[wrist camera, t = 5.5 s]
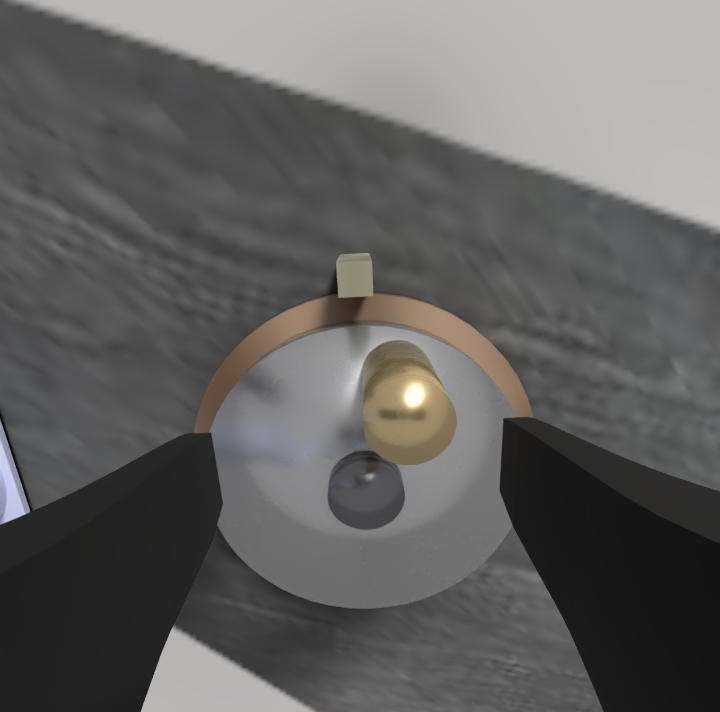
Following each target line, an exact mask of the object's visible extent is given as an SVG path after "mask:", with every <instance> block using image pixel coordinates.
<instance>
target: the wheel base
mask: <svg viewBox="0 0 720 712" xmlns="http://www.w3.org/2000/svg"><path fill="white" fill-rule="evenodd" d="M336 268H337V284H338V293H337V294H331V295H327V296H323V297H319V298H315V299H311V300H308V301H305V302H303V303H300V304H298V305H295V306H293V307H290V308H288V309H286V310H284V311H282V312H281V313H279V314H277V315H275V316H274V317H272V318H270V319H268V320H267V321H266V322H264V323H263V324H262V325H260V326H259V327H258V328H256V329H255V330H254V331H252V332H251V333H250V334H249V335H248V336H247V337H246V338H245V339H244V340H243V341H242V342H241V343H240V344H239V345H238V346H237V347H236V348H235V349H234V350H233V351H232V352H231V353H230V354H229V355H228V356H227V358H226V359H225V360H224V362H223V363H222V364H221V366H220V367H219V369H218V370H217V371H216V373H215V374H214V376H213V378H212V380H211V382H210V384H209V386H208V387H207V389H206V391H205V393H204V396H203V399H202V402H201V405H200V407H199V410H198V414H197V419H196V424H195V429H194V433H209V431H210V429H211V426H212V424H213V421H214V419H215V416H216V414H217V412H218V410H219V408H220V407H221V405H222V403H223V402H224V400H225V398H226V396H227V395H228V394H229V392H230V391H231V390H232V388H233V387H234V386H235V385H236V383H237V382H238V381H239V380H240V378H241V377H242V376H243V374H244V373H245V372H246V371H247V370H248V369H249V368H250V367H251V366H252V365H253V364H254V363H255V362H256V361H257V360H258V359H259V358H260V357H261V356H263V355H264V354H265V353H267V352H268V351H270V350H271V349H273V348H274V347H275V346H277V345H278V344H280V343H282V342H284V341H286V340H287V339H289V338H291V337H293V336H295V335H297V334H299V333H302V332H305V331H308V330H310V329H313V328H316V327H319V326H324V325H328V324H333V323H337V322H344V321H355V320H376V321H388V322H394V323H400V324H406V325H409V326H412V327H415V328H419V329H422V330H425V331H428V332H430V333H432V334H434V335H436V336H438V337H441V338H443V339H445V340H447V341H448V342H450V343H451V344H453V345H455V346H456V347H458V348H459V349H461V350H462V351H464V352H465V353H466V354H467V355H468V356H470V357H471V358H472V359H473V360H474V361H476V362H477V363H478V364H479V365H480V366H481V367H482V369H483V370H484V371H485V372H486V373H487V374H488V375H489V377H490V378H491V379H492V380H493V381H494V382H495V383H496V384H497V386H498V387H499V388H500V389H501V391H502V392H503V394H504V395H505V397H506V398H507V400H508V401H509V403H510V405H511V406H512V408H513V411H514V413H515V415H516V417H531V418H533V414H532V411H531V408H530V404H529V401H528V398H527V395H526V393H525V391H524V389H523V387H522V385H521V383H520V380H519V378H518V377H517V375H516V374H515V372H514V371H513V369H512V368H511V366H510V365H509V363H508V362H507V360H506V359H505V358H504V357H503V356H502V355H501V353H500V352H499V351H498V350H497V349H496V348H495V347H494V346H493V345H492V343H491V342H489V341H488V340H487V339H486V338H485V337H484V336H482V335H481V334H480V333H479V332H478V331H476V330H475V329H474V328H473V327H472V326H470V325H469V324H468V323H467V322H465V321H463V320H462V319H460V318H458V317H457V316H455V315H454V314H452V313H450V312H449V311H447V310H444V309H442V308H440V307H438V306H435V305H433V304H431V303H429V302H426V301H423V300H419V299H416V298H412V297H409V296H405V295H400V294H393V293H386V292H373V276H372V260H371V257H370V255H369V253H358V254H340V256H339V258H338V260H337V262H336ZM217 526H218V525H217Z"/></svg>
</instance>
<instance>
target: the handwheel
mask: <svg viewBox="0 0 720 712" xmlns="http://www.w3.org/2000/svg"><path fill="white" fill-rule="evenodd" d="M514 417H516V415H515V413H514V411H513V408H512V406H511V405H510V403H509V401H508V400H507V398H506V397H505V395H504V394H503V392H502V391H501V389H500V388H499V387H498V386H497V384H496V383H495V382H494V381H493V380H492V379H491V378H490V377H489V375H488V374H487V373H486V372H485V371H484V370H483V369H482V367H481V366H480V365H479V364H478V363H477V362H476V361H474V360H473V359H472V358H471V357H470V356H468V355H467V354H466V353H465V352H464V351H462V350H461V349H459V348H458V347H456V346H455V345H453V344H451V343H450V342H448V341H447V340H445V339H443V338H441V337H438V336H436V335H434V334H432V333H430V332H428V331H425V330H422V329H419V328H415V327H412V326H409V325H406V324H400V323H394V322H388V321H376V320H355V321H344V322H337V323H333V324H328V325H324V326H319V327H316V328H313V329H310V330H308V331H305V332H302V333H299V334H297V335H295V336H293V337H291V338H289V339H287V340H286V341H284V342H282V343H280V344H278V345H277V346H275V347H274V348H273V349H271V350H270V351H268V352H267V353H265V354H264V355H263V356H261V357H260V358H259V359H258V360H257V361H256V362H255V363H254V364H253V365H252V366H251V367H250V368H249V369H248V370H247V371H246V372H245V373H244V374H243V376H242V377H241V378H240V380H239V381H238V382H237V383H236V385H235V386H234V387H233V388H232V390H231V391H230V392H229V394H228V395H227V396H226V398H225V400H224V402H223V403H222V405H221V407H220V408H219V410H218V412H217V414H216V416H215V419H214V421H213V424H212V426H211V429H210V431H209V433H210V432H211V434H212V440H213V446H214V452H215V458H216V464H217V470H218V476H219V482H220V488H221V494H222V500H223V506H222V509H221V513H220V517H219V520H218V524H217V525H218V527H219V529H220V531H221V533H222V534H223V536H224V538H225V539H226V541H227V542H228V543H229V545H230V546H231V547H232V549H233V550H234V551H235V553H236V554H237V555H238V556H239V557H240V558H241V559H242V560H243V561H244V562H245V563H246V564H247V565H248V566H249V567H250V568H252V569H253V570H254V571H255V572H257V573H258V574H259V575H260V576H262V577H263V578H264V579H266V580H268V581H269V582H271V583H272V584H274V585H276V586H277V587H279V588H281V589H283V590H285V591H287V592H289V593H291V594H293V595H296V596H299V597H301V598H304V599H307V600H310V601H313V602H317V603H321V604H325V605H330V606H336V607H344V608H360V609H372V608H385V607H392V606H397V605H403V604H408V603H411V602H414V601H418V600H421V599H425V598H427V597H430V596H432V595H434V594H437V593H439V592H442V591H444V590H445V589H447V588H449V587H451V586H453V585H455V584H456V583H458V582H460V581H461V580H462V579H464V578H465V577H467V576H468V575H470V574H471V573H472V572H474V571H475V570H476V569H477V568H478V567H479V566H481V565H482V564H483V563H484V562H485V561H486V560H487V559H488V558H489V557H490V556H491V555H492V553H493V552H494V551H495V550H496V549H497V548H498V547H499V545H500V544H501V542H502V541H503V539H504V538H505V537H506V535H507V534H508V532H509V531H510V529H511V526H512V522H511V520H510V517H509V515H508V512H507V510H506V507H505V504H504V502H503V499H502V496H501V493H500V491H499V488H500V470H501V452H502V434H503V418H514Z"/></svg>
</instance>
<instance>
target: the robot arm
mask: <svg viewBox="0 0 720 712" xmlns="http://www.w3.org/2000/svg"><path fill="white" fill-rule="evenodd" d="M499 491H500V493H501V496H502V499H503V502H504V504H505V507H506V510H507V512H508V515H509V517H510V520H511V522H512V525H513V527H514V529H515V531H516V533H517V535H518V537H519V538H520V540H521V542H522V544H523V546H524V548H525V550H526V551H527V553H528V555H529V557H530V559H531V561H532V562H533V564H534V566H535V568H536V570H537V571H538V573H539V575H540V577H541V579H542V580H543V582H544V584H545V586H546V588H547V590H548V591H549V593H550V595H551V597H552V599H553V600H554V602H555V604H556V606H557V608H558V609H559V611H560V613H561V615H562V617H563V619H564V621H565V623H566V625H567V627H568V629H569V631H570V633H571V635H572V638H573V640H574V642H575V645H576V647H577V649H578V652H579V654H580V656H581V659H582V661H583V663H584V665H585V668H586V670H587V672H588V675H589V677H590V679H591V682H592V684H593V686H594V689H595V691H596V694H597V696H598V699H599V701H600V704H601V706H602V709H603V711H604V712H720V491H716V490H713V489H710V488H707V487H703V486H700V485H697V484H694V483H691V482H688V481H685V480H682V479H679V478H676V477H673V476H670V475H667V474H665V473H662V472H659V471H656V470H654V469H651V468H648V467H646V466H643V465H641V464H638V463H636V462H633V461H631V460H628V459H626V458H623V457H621V456H619V455H616V454H614V453H612V452H609V451H607V450H605V449H602V448H600V447H598V446H596V445H593V444H591V443H589V442H587V441H585V440H582V439H580V438H578V437H576V436H574V435H571V434H569V433H567V432H565V431H563V430H561V429H558V428H556V427H554V426H552V425H549V424H547V423H545V422H542V421H540V420H537V419H534V418H531V417H514V418H503V434H502V452H501V470H500V488H499ZM222 506H223V500H222V494H221V488H220V482H219V476H218V470H217V464H216V458H215V452H214V446H213V440H212V434H211V432H210V433H190V434H184V435H182V436H179V437H177V438H175V439H173V440H171V441H169V442H167V443H165V444H163V445H161V446H159V447H158V448H156V449H154V450H152V451H150V452H148V453H147V454H145V455H143V456H141V457H139V458H138V459H136V460H134V461H132V462H130V463H129V464H127V465H125V466H123V467H121V468H119V469H118V470H116V471H114V472H112V473H110V474H108V475H106V476H104V477H102V478H100V479H98V480H97V481H95V482H93V483H91V484H89V485H87V486H85V487H83V488H81V489H79V490H77V491H75V492H73V493H71V494H69V495H67V496H65V497H63V498H61V499H59V500H57V501H54V502H52V503H50V504H48V505H46V506H43V507H41V508H39V509H36V510H34V511H32V512H30V509H29V506H28V503H27V500H26V497H25V494H24V491H23V488H22V485H21V482H20V479H19V475H18V472H17V469H16V466H15V463H14V460H13V457H12V454H11V451H10V448H9V445H8V442H7V439H6V436H5V433H4V430H3V427H2V423H1V420H0V712H141V709H142V706H143V703H144V700H145V698H146V694H147V692H148V689H149V686H150V683H151V681H152V678H153V675H154V672H155V669H156V667H157V664H158V661H159V658H160V655H161V653H162V650H163V648H164V645H165V643H166V641H167V638H168V636H169V633H170V631H171V629H172V627H173V625H174V622H175V620H176V618H177V616H178V614H179V612H180V610H181V607H182V605H183V603H184V601H185V599H186V597H187V594H188V592H189V590H190V588H191V586H192V584H193V582H194V579H195V577H196V575H197V573H198V571H199V569H200V566H201V564H202V562H203V560H204V558H205V555H206V553H207V551H208V549H209V546H210V544H211V542H212V539H213V536H214V533H215V530H216V527H217V524H218V520H219V517H220V513H221V509H222Z"/></svg>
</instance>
